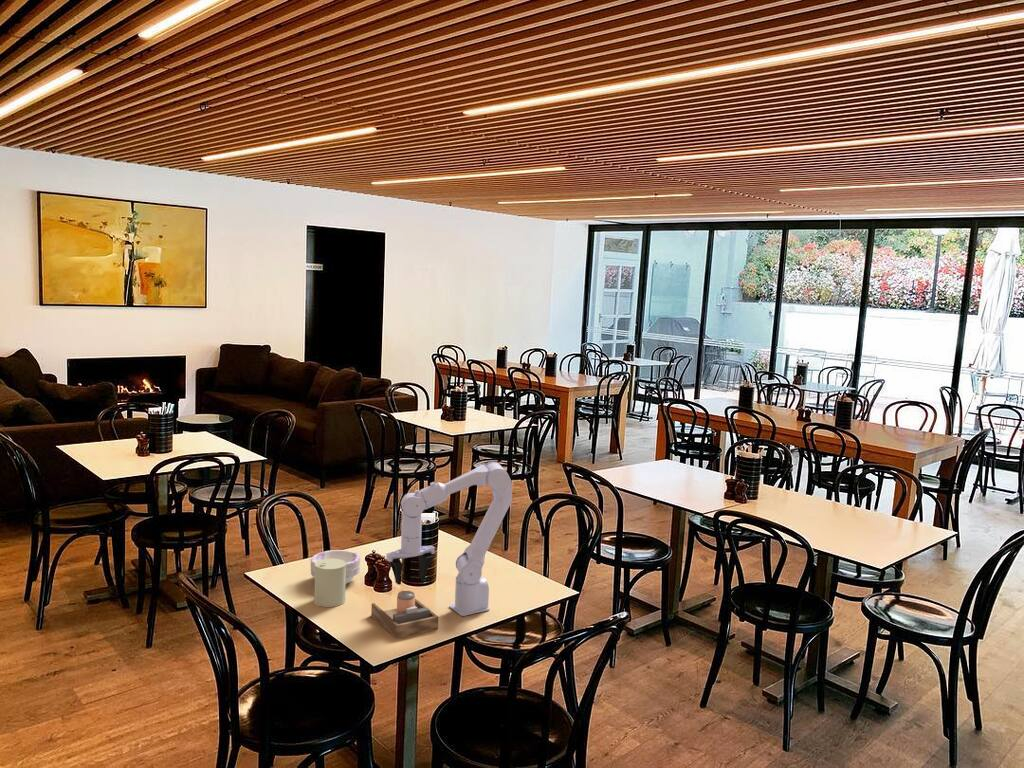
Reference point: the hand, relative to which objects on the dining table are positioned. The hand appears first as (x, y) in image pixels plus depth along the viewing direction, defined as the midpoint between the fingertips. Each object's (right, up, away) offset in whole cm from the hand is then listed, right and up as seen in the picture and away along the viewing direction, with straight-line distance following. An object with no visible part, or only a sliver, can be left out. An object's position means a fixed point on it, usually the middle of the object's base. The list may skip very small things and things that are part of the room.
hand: (410, 581), depth 232 cm
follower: (+1, -10, -9) cm, 14 cm away
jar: (-1, -10, -6) cm, 12 cm away
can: (-25, -8, +7) cm, 27 cm away
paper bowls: (-26, -6, +22) cm, 35 cm away
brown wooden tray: (-1, -10, -5) cm, 11 cm away
